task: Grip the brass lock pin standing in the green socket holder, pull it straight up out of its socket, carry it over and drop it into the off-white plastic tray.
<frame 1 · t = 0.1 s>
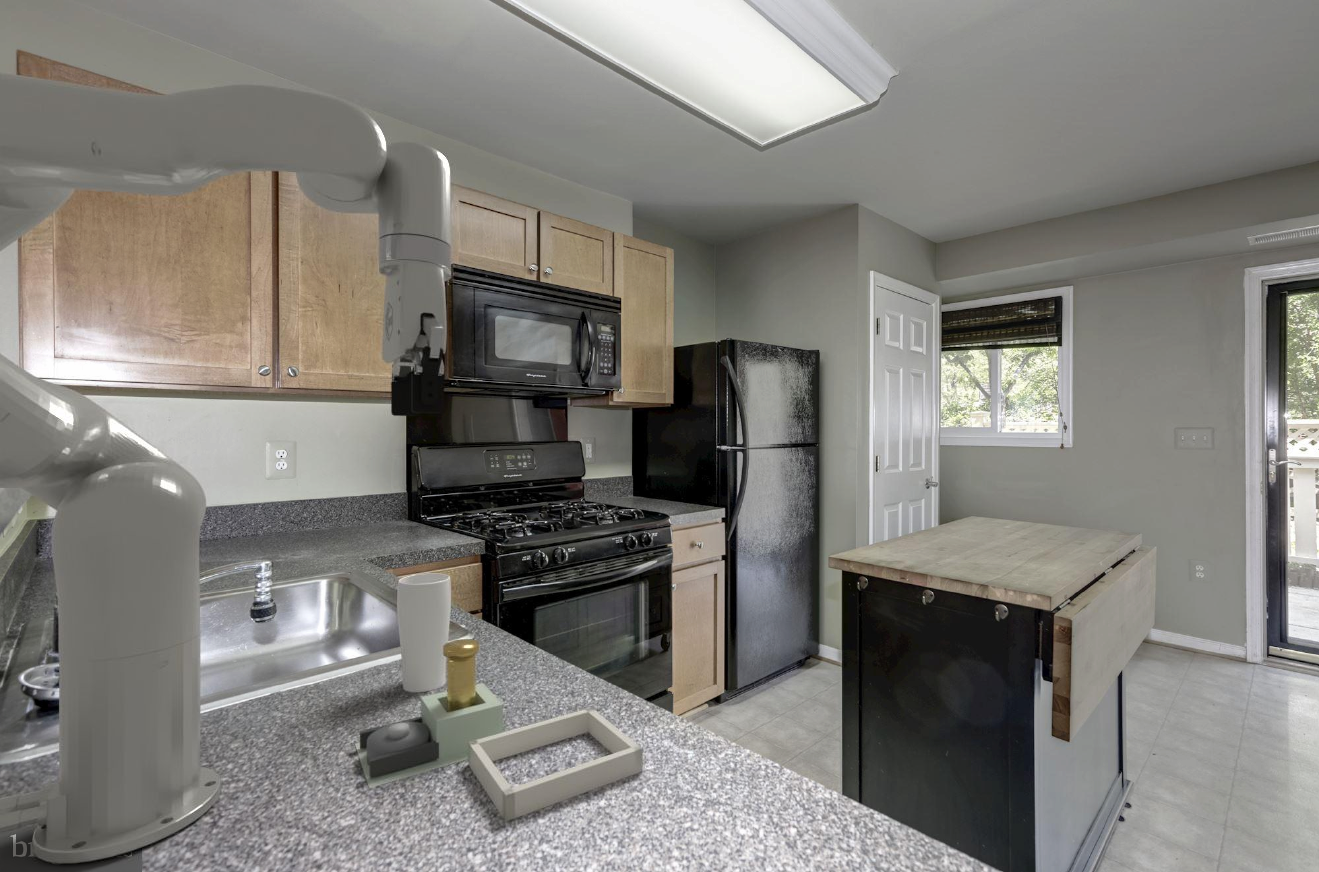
hand: (416, 414, 67), 37 cm above the counter, tool pointing down, fingers open, 9 cm apart
drinking glass: (424, 691, 81), on the counter
tray: (554, 775, 60), on the counter
lock pin: (461, 736, 67), point 1 cm above the counter, touching green socket holder
green socket holder: (433, 752, 65), on the counter
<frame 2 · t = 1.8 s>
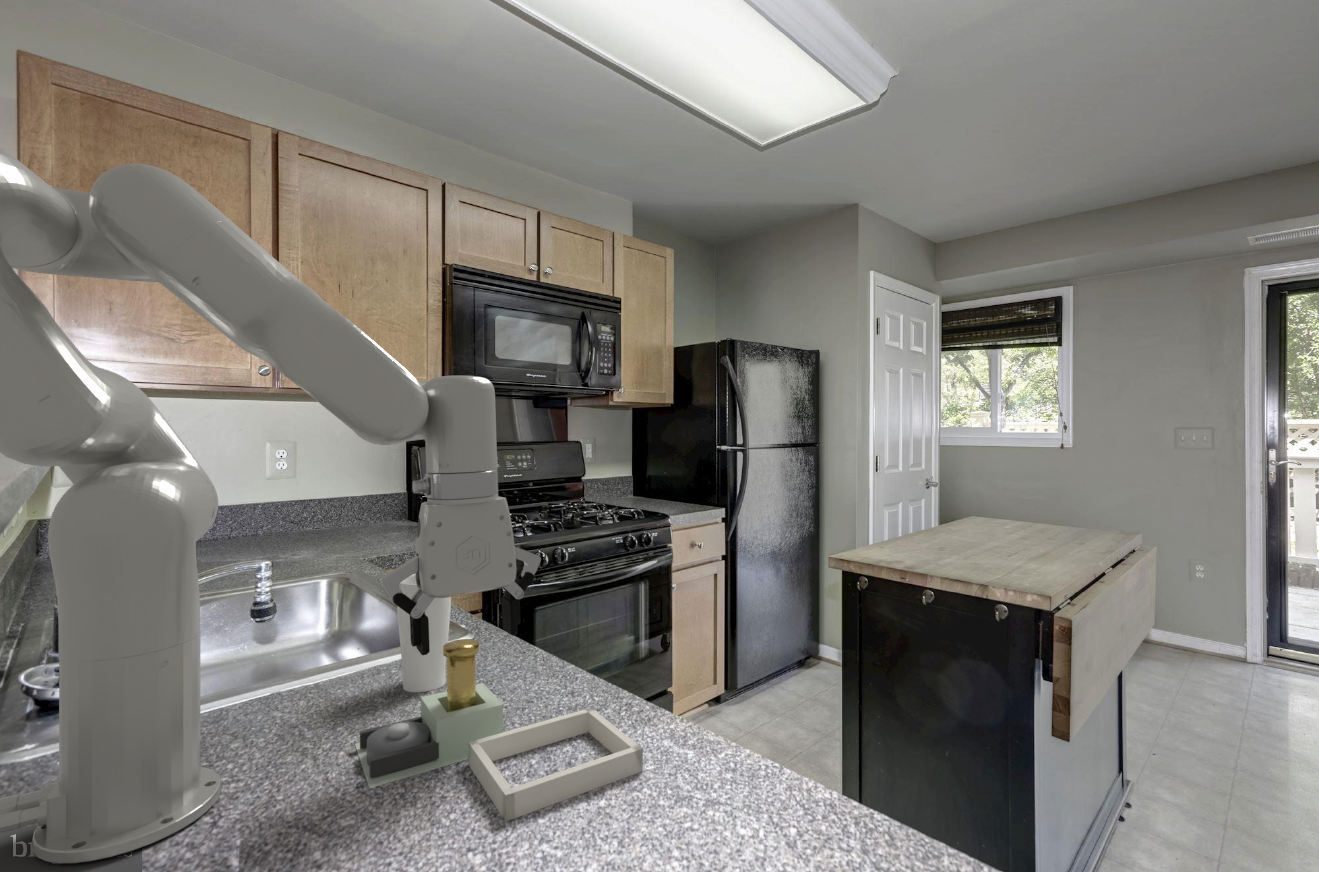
hand: (468, 641, 67), 11 cm above the counter, tool pointing down, fingers open, 9 cm apart
nothing on the counter moved.
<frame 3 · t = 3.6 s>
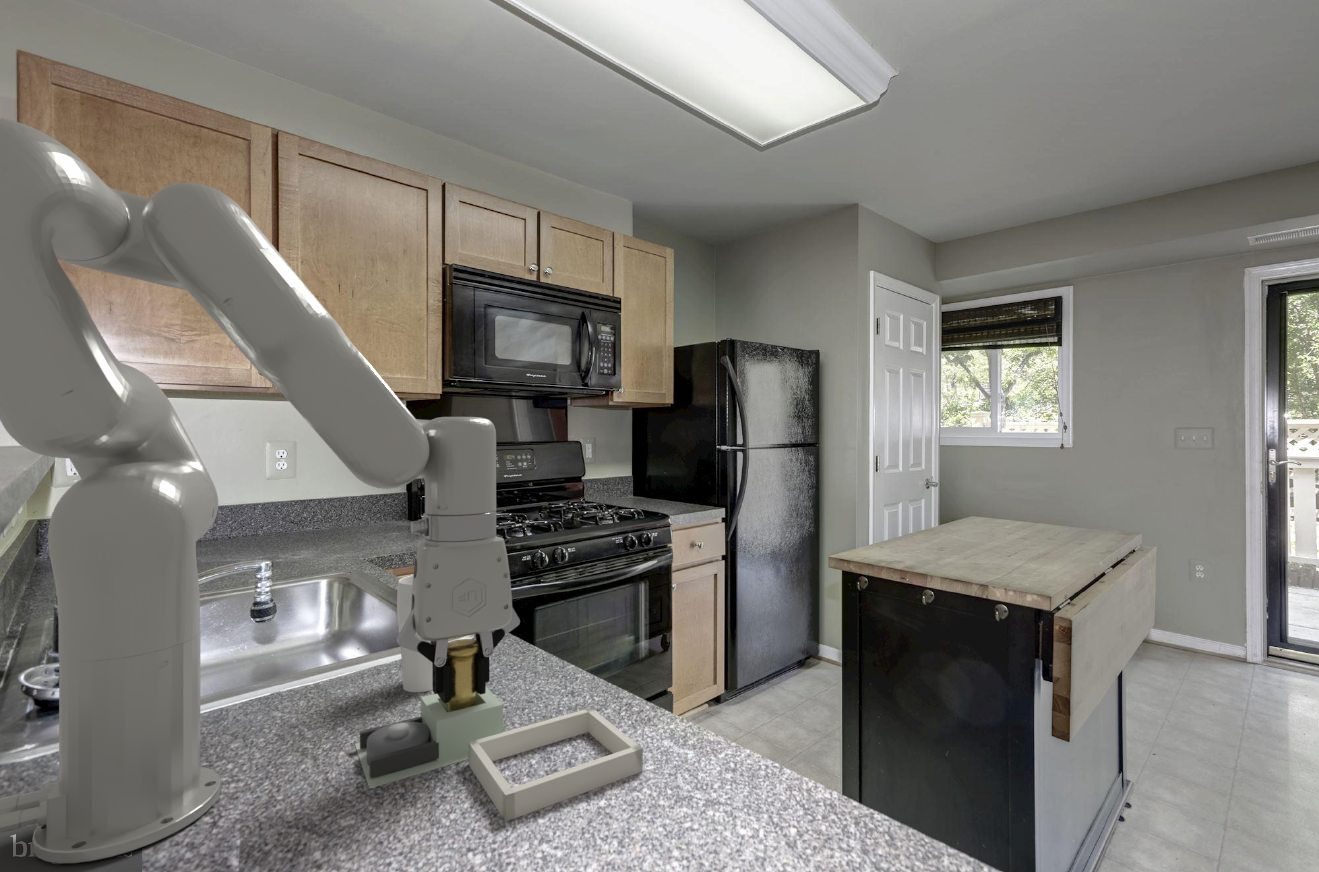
hand: (461, 692, 67), 6 cm above the counter, tool pointing down, fingers closed on lock pin, 3 cm apart
lock pin: (461, 736, 67), point 1 cm above the counter, touching gripper, green socket holder
everything else where it was.
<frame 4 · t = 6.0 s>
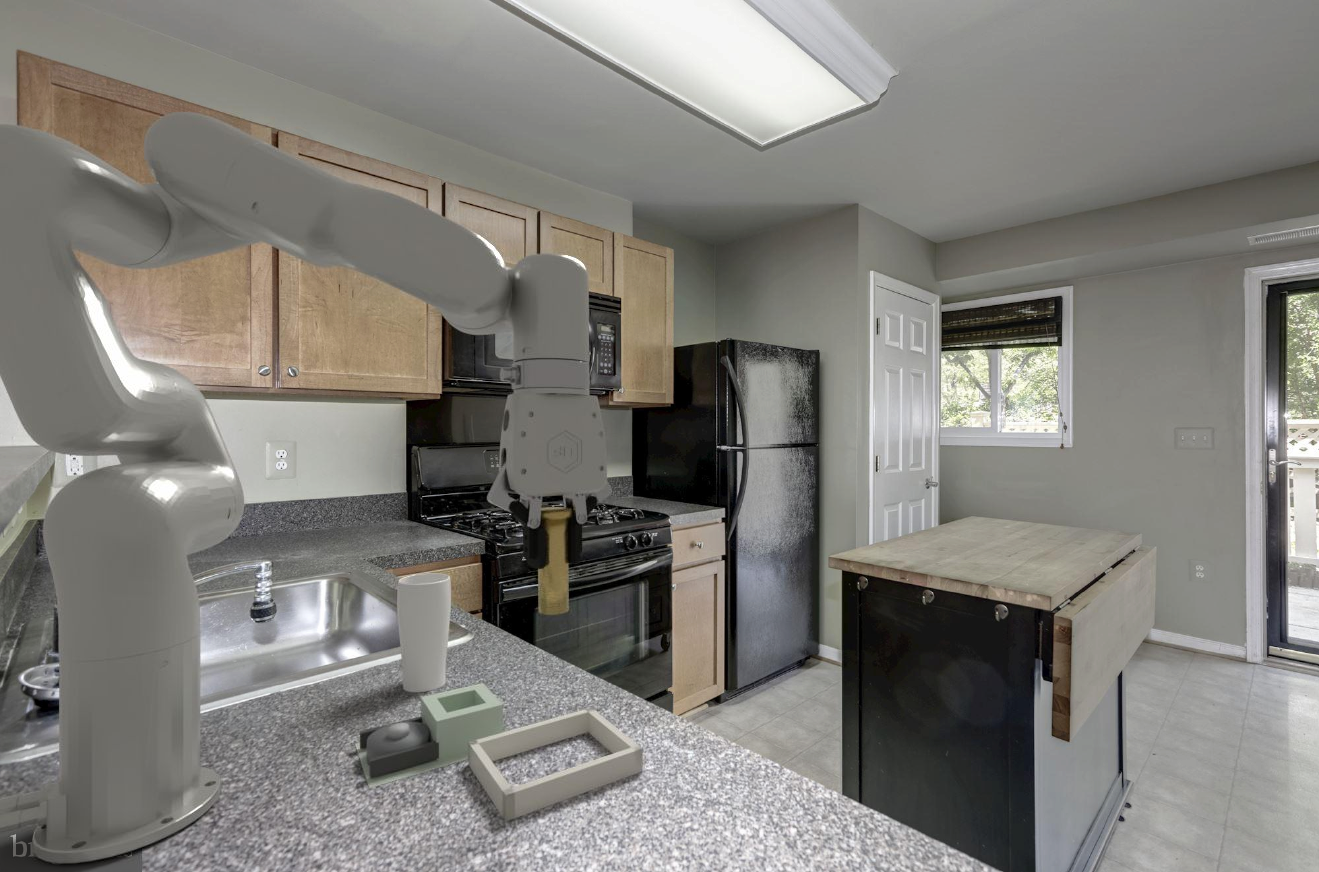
hand: (553, 562, 61), 21 cm above the counter, tool pointing down, fingers closed on lock pin, 3 cm apart
lock pin: (553, 610, 61), point 16 cm above the counter, touching gripper
everything else where it was.
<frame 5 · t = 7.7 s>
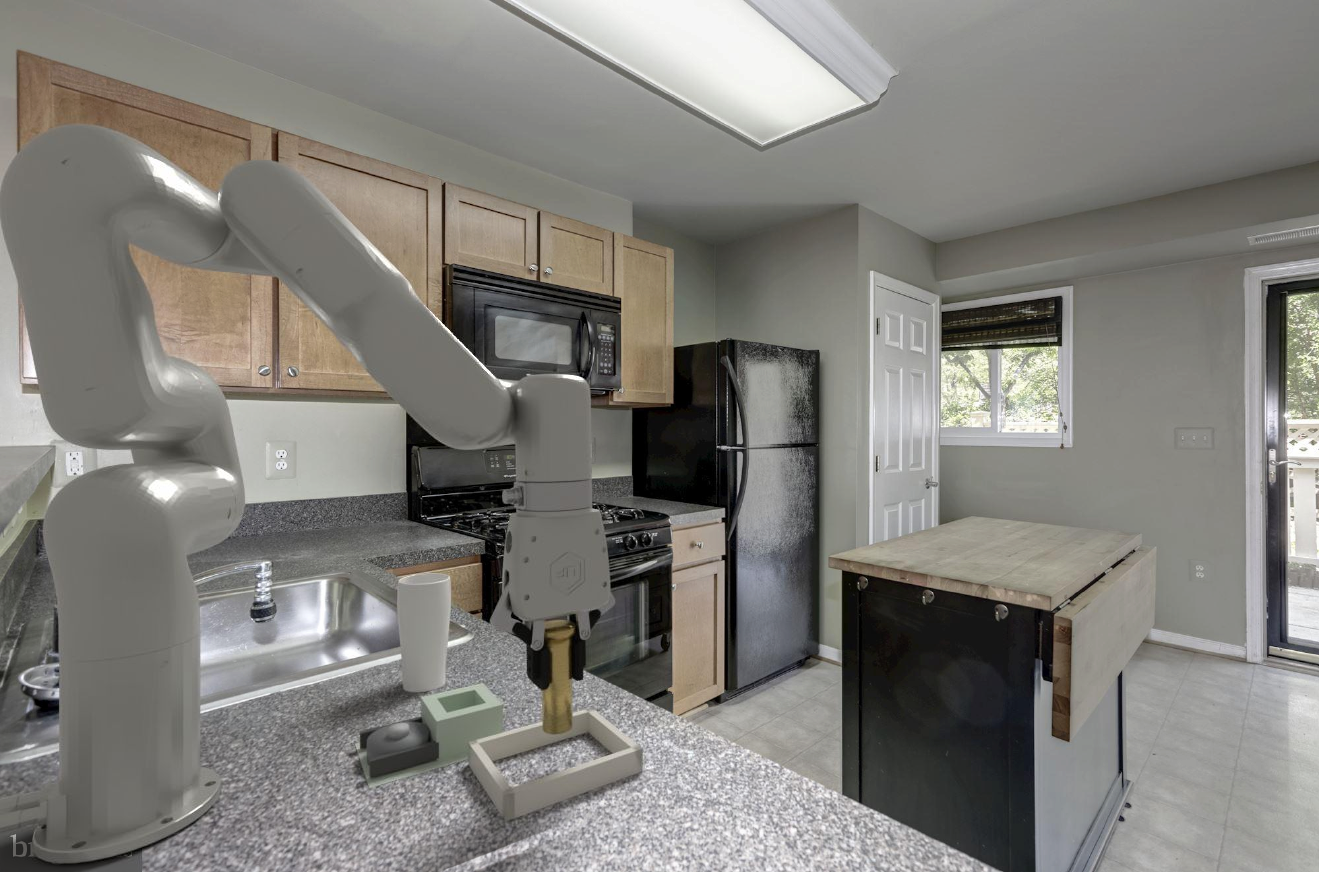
hand: (556, 679, 61), 10 cm above the counter, tool pointing down, fingers closed on lock pin, 3 cm apart
lock pin: (557, 727, 61), point 5 cm above the counter, touching gripper
everything else where it was.
when the fingers open (7 cm above the counter, at t = 8.9 s): lock pin drops 2 cm, resting on tray.
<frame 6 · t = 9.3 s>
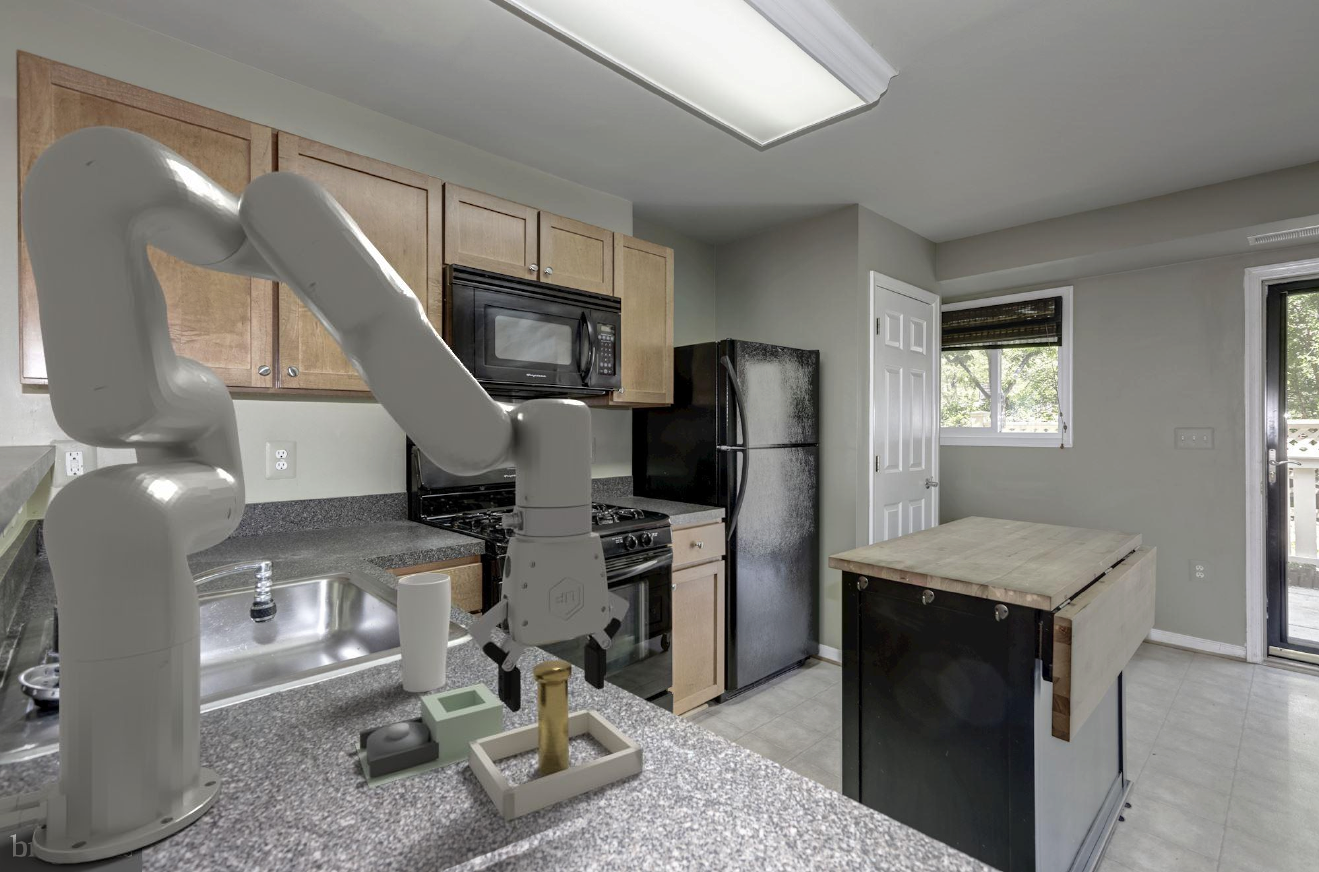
hand: (554, 694, 60), 8 cm above the counter, tool pointing down, fingers open, 8 cm apart
lock pin: (553, 769, 60), point 1 cm above the counter, touching tray
everything else where it was.
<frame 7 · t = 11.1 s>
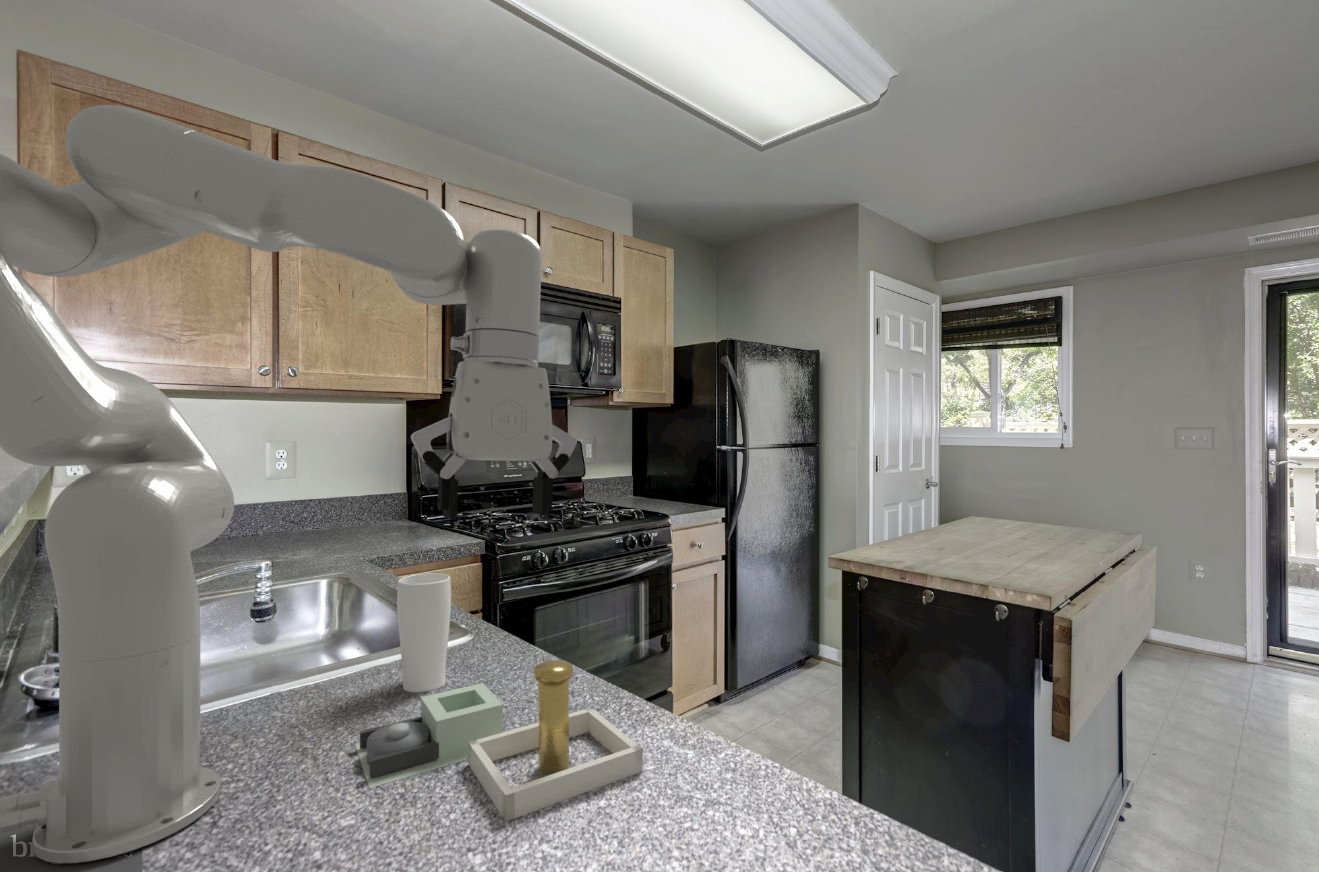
hand: (496, 515, 63), 26 cm above the counter, tool pointing down, fingers open, 9 cm apart
nothing on the counter moved.
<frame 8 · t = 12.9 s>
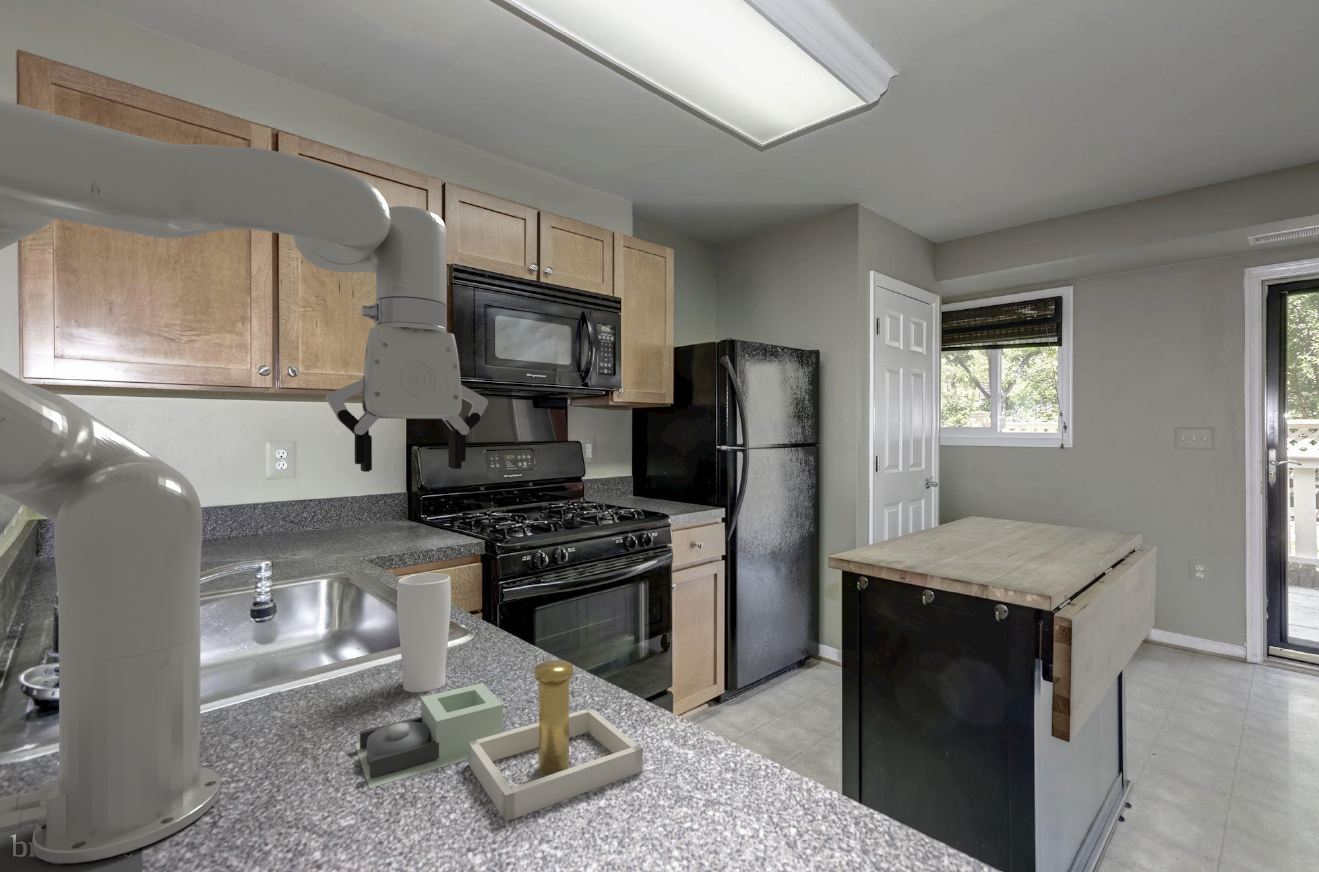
hand: (412, 469, 69), 30 cm above the counter, tool pointing down, fingers open, 9 cm apart
nothing on the counter moved.
at the end: lock pin inside the target area on the tray (0.0 cm from its centre), point 0.6 cm above the tray's base; the gripper is holding nothing; lock pin moved 12.9 cm from its start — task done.
